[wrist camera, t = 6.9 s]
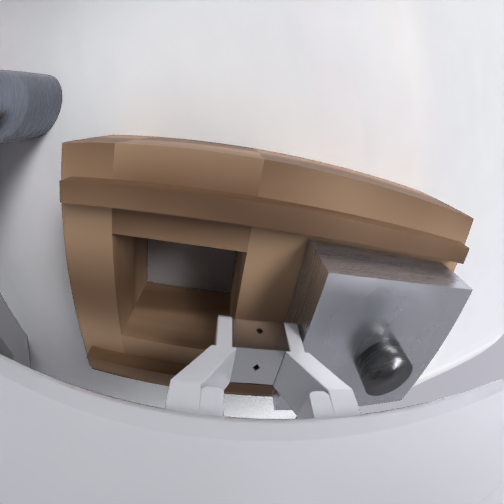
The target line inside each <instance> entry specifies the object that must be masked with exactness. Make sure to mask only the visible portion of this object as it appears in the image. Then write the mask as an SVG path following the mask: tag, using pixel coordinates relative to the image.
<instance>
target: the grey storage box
mask: <svg viewBox="0 0 504 504" xmlns="http://www.w3.org/2000/svg"><path fill="white" fill-rule="evenodd" d="M0 354H2V355H4V356H6V357H8V358H10V359H12V360H14V361H16V362H18V363H20V364H22V365H24V366H26V367H29V368H31V366H30V359H29V351H28V341H27V335H26V334H25V332H24V331H23V329H22V328H21V326H20V325H19V323H18V322H17V320H16V319H15V317H14V316H13V314H12V312H11V311H10V309H9V307H8V306H7V304H6V302H5V301H4V299H3V297H2V295H1V294H0Z"/></svg>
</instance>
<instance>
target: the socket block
mask: <svg viewBox="0 0 504 504" xmlns="http://www.w3.org/2000/svg"><path fill="white" fill-rule="evenodd" d="M60 202H61V203H62V218H63V231H64V241H65V250H66V258H67V265H68V272H69V278H70V284H71V289H72V294H73V299H74V304H75V309H76V313H77V317H78V322H79V326H80V330H81V333H82V337H83V341H84V344H85V348H86V351H87V354H88V355H87V358H88V361H89V364H90V366H91V367H92V369H95V370H99V371H103V372H106V373H110V374H114V375H118V376H122V377H126V378H131V379H135V380H140V381H144V382H149V383H155V384H160V385H165V386H170V381H171V379H172V378H173V377H174V376H176V375H177V374H178V373H179V372H180V371H182V370H183V369H184V368H185V367H186V366H188V365H189V364H190V363H191V362H192V361H193V360H195V359H196V358H197V357H198V356H199V355H200V354H202V353H203V352H204V351H205V350H206V349H207V348H208V347H210V346H211V345H214V341H215V334H216V326H217V319H218V315H222V316H229V317H237V318H245V319H253V320H260V321H270V322H282V323H283V322H285V320H286V316H287V313H288V310H289V307H290V303H291V300H292V297H293V293H294V290H295V287H296V283H297V280H298V276H299V273H300V269H301V266H302V262H303V259H304V255H305V252H306V248H307V244H308V241H309V239H313V240H319V241H326V242H332V243H338V244H344V245H349V246H355V247H361V248H367V249H373V250H378V251H384V252H390V253H395V254H401V255H406V256H411V257H417V258H422V259H427V260H433V261H438V262H442V263H443V264H444V265H446V266H447V267H448V268H449V269H450V270H451V271H453V272H454V269H455V267H456V265H457V263H461V264H463V263H464V261H465V258H466V256H467V253H468V251H469V248H468V247H467V246H465V242H466V239H467V237H468V234H469V231H470V228H471V225H472V222H473V218H471V217H470V216H468V215H466V214H464V213H462V212H461V211H459V210H457V209H455V208H453V207H451V206H449V205H447V204H445V203H443V202H441V201H439V200H437V199H435V198H433V197H431V196H429V195H427V194H425V193H423V192H421V191H418V190H415V189H412V188H409V187H406V186H403V185H400V184H397V183H394V182H391V181H388V180H384V179H381V178H378V177H374V176H371V175H368V174H364V173H361V172H357V171H353V170H350V169H346V168H342V167H338V166H334V165H330V164H326V163H322V162H318V161H314V160H309V159H305V158H300V157H296V156H291V155H286V154H281V153H276V152H270V151H265V150H259V149H253V148H247V147H241V146H234V145H228V144H220V143H213V142H205V141H196V140H187V139H176V138H164V137H150V136H131V135H109V136H101V137H94V138H87V139H81V140H75V141H69V142H64V143H62V161H61V181H60ZM147 238H148V239H155V240H162V241H169V242H176V243H183V244H190V245H198V246H205V247H212V248H219V249H226V250H233V251H237V256H236V262H235V268H234V274H233V280H232V286H231V293H230V294H229V293H221V292H213V291H206V290H199V289H192V288H185V287H178V286H172V285H165V284H159V283H153V282H147ZM224 393H225V394H236V395H251V396H272V397H273V395H272V387H271V385H268V384H255V383H238V382H230V383H229V384H228V386H227V387H226V388H225V389H224Z"/></svg>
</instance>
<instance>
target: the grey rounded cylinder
mask: <svg viewBox="0 0 504 504" xmlns="http://www.w3.org/2000/svg"><path fill="white" fill-rule="evenodd" d="M61 104H62V90H61V86H60V84H59V82H58V80H57V79H56V78H55V77H53V76H51V75H45V74H38V73H30V72H21V71H10V70H0V144H3V143H7V142H12V141H16V140H21V139H26V138H32V137H38V136H41V135H43V134H45V133H46V132H47V131H48V130H49V129H50V128H51V127H52V126H53V124H54V123H55V121H56V119H57V117H58V115H59V112H60V108H61Z"/></svg>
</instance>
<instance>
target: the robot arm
mask: <svg viewBox="0 0 504 504" xmlns="http://www.w3.org/2000/svg"><path fill="white" fill-rule="evenodd" d="M230 382H238V383H255V384H268V385H273V386H274V387H275V389H276V390H277V391H278V393H279V394H280V395H281V396H282V398H283V399H284V400H285V401H286V403H287V404H288V405H289V406H290V408H291V409H292V410H293V411H294V413H295V414H296V415H297V417H296V418H295V419H254V418H236V417H224V389H225V388H226V387H227V386H228V384H229V383H230ZM0 504H504V380H503V379H499V380H495V381H493V382H490V383H488V384H485V385H482V386H480V387H477V388H474V389H471V390H468V391H465V392H462V393H459V394H455V395H452V396H449V397H445V398H441V399H438V400H434V401H430V402H426V403H421V404H417V405H412V406H408V407H403V408H397V409H392V410H386V411H380V412H373V413H366V414H361V412H360V409H359V406H358V404H357V401H356V398H355V395H354V393H353V390H352V389H351V388H350V387H349V386H348V385H346V384H345V383H344V382H343V381H342V380H340V379H339V378H338V377H337V376H336V375H334V374H333V373H332V372H331V371H330V370H328V369H327V368H326V367H325V366H324V365H323V364H321V363H320V362H319V361H318V360H317V359H315V358H314V357H313V356H312V355H311V354H310V353H305V351H304V347H303V343H302V340H301V336H300V333H299V329H298V326H297V324H296V323H288V322H283V323H282V322H270V321H260V320H253V319H245V318H237V317H229V316H222V315H218V319H217V326H216V334H215V341H214V345H211V346H210V347H208V348H207V349H206V350H205V351H204V352H203V353H202V354H200V355H199V356H198V357H197V358H196V359H195V360H193V361H192V362H191V363H190V364H189V365H188V366H186V367H185V368H184V369H183V370H182V371H180V372H179V373H178V374H177V375H176V376H174V377H173V378H172V379H171V381H170V386H169V390H168V395H167V400H166V405H165V409H164V408H158V407H153V406H148V405H143V404H139V403H134V402H130V401H126V400H122V399H118V398H114V397H110V396H107V395H103V394H100V393H96V392H93V391H90V390H87V389H84V388H81V387H78V386H75V385H72V384H69V383H66V382H63V381H61V380H58V379H55V378H53V377H50V376H48V375H45V374H43V373H40V372H38V371H36V370H33V369H31V368H29V367H26V366H24V365H22V364H20V363H18V362H16V361H14V360H12V359H10V358H8V357H6V356H4V355H2V354H0Z"/></svg>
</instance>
